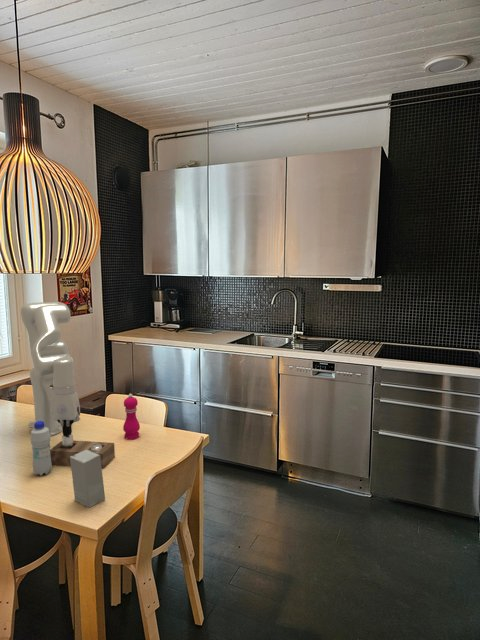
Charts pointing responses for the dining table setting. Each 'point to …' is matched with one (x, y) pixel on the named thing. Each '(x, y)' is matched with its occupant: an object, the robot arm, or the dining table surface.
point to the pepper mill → (131, 418)
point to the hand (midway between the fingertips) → (67, 435)
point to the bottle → (41, 448)
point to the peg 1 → (67, 441)
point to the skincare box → (87, 478)
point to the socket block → (62, 455)
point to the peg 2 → (96, 447)
